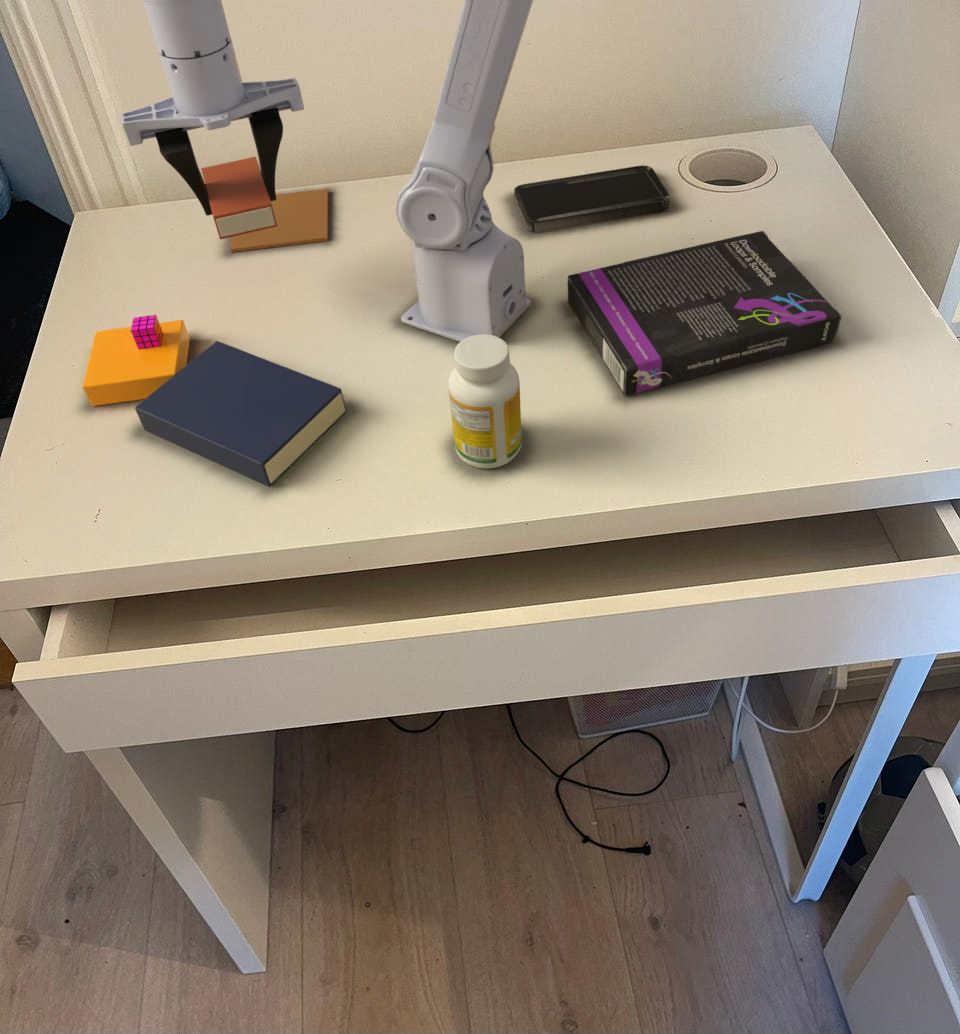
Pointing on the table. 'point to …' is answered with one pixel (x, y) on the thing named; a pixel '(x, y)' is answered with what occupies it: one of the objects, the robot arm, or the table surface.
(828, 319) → the box
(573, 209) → the phone
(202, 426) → the hardcover
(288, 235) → the desk pad
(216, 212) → the paperback
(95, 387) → the flat orange square block
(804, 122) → the table surface
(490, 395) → the supplement bottle
